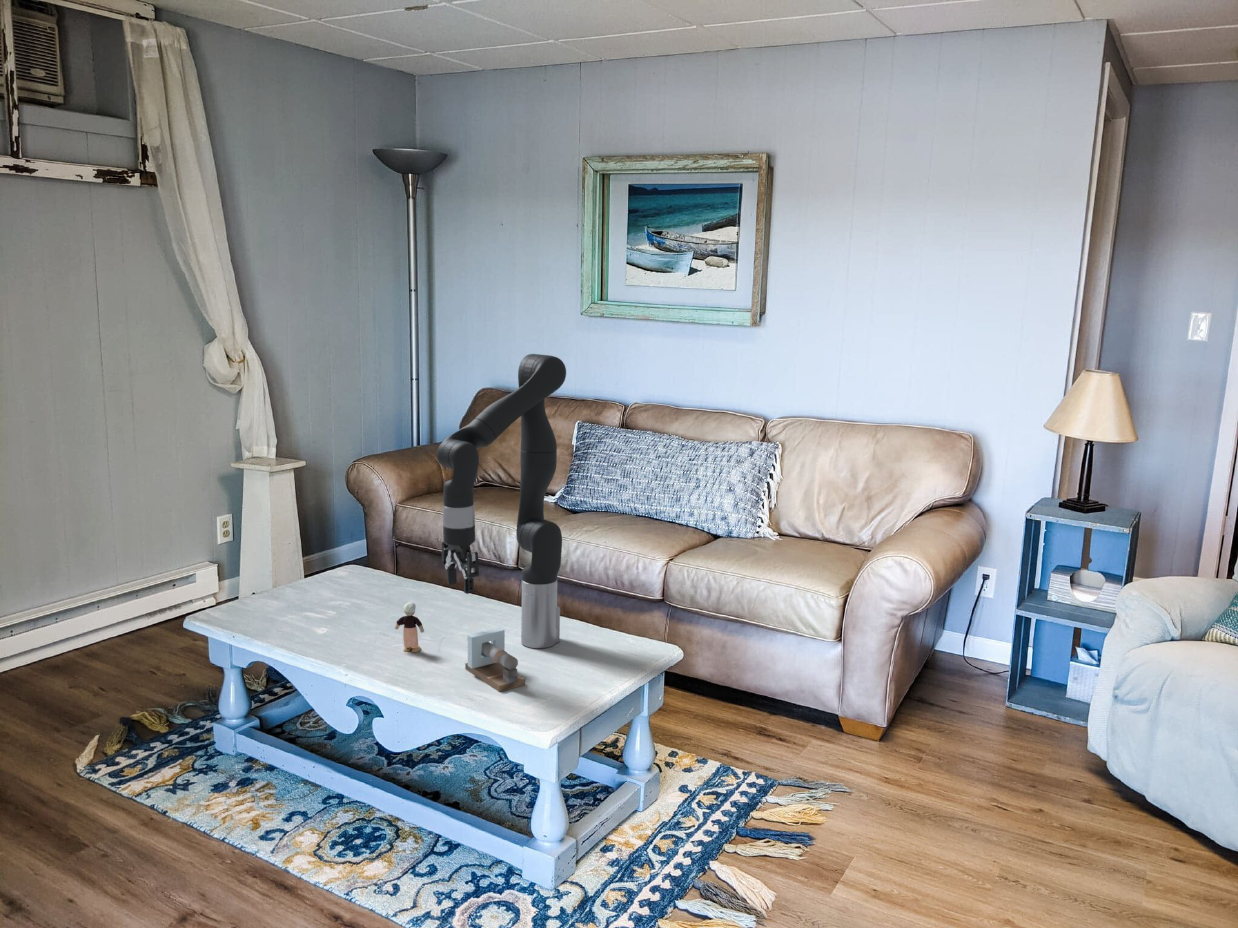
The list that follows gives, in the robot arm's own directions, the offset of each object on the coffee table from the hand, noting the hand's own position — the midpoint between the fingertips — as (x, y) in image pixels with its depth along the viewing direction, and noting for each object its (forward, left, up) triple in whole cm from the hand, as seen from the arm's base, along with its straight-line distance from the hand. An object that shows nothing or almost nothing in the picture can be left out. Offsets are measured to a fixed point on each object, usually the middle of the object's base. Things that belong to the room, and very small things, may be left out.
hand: (460, 588), depth 227 cm
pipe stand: (-4, +10, -20) cm, 23 cm away
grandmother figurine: (+5, -17, -20) cm, 27 cm away
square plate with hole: (-4, +6, -18) cm, 19 cm away
